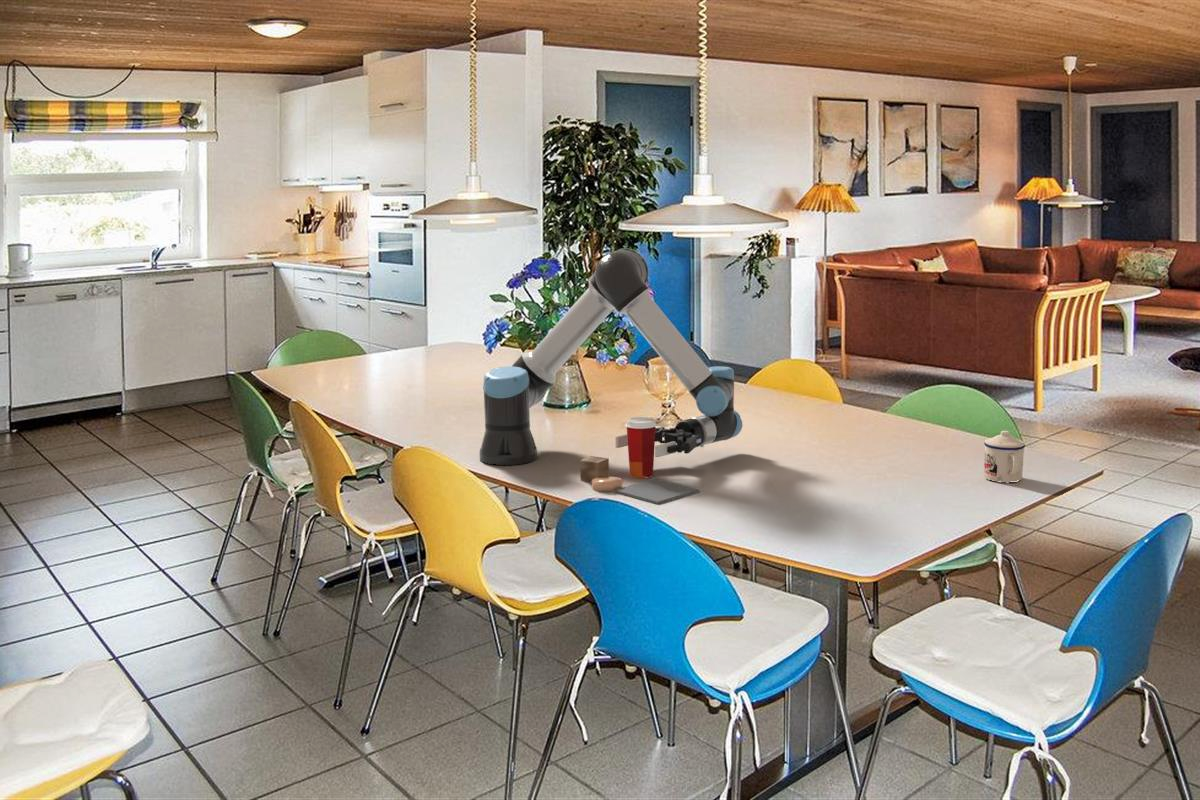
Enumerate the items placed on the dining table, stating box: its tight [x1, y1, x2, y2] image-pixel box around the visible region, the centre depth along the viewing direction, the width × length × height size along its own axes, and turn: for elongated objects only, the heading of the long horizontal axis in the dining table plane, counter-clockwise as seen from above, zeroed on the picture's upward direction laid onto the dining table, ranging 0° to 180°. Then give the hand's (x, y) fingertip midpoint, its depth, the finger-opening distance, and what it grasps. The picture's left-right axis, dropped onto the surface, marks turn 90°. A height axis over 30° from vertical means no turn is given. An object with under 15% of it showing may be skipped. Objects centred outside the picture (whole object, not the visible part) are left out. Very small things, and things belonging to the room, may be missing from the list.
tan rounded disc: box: [591, 476, 623, 493], centre depth 266 cm, size 7×7×2 cm
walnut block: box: [579, 455, 610, 483], centre depth 273 cm, size 5×5×5 cm
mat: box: [613, 477, 700, 505], centre depth 262 cm, size 14×14×1 cm
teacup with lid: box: [983, 430, 1026, 482], centre depth 265 cm, size 12×9×12 cm
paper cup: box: [624, 416, 657, 479], centre depth 275 cm, size 8×8×14 cm
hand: (635, 447), depth 274 cm, fingers open, 13 cm apart
